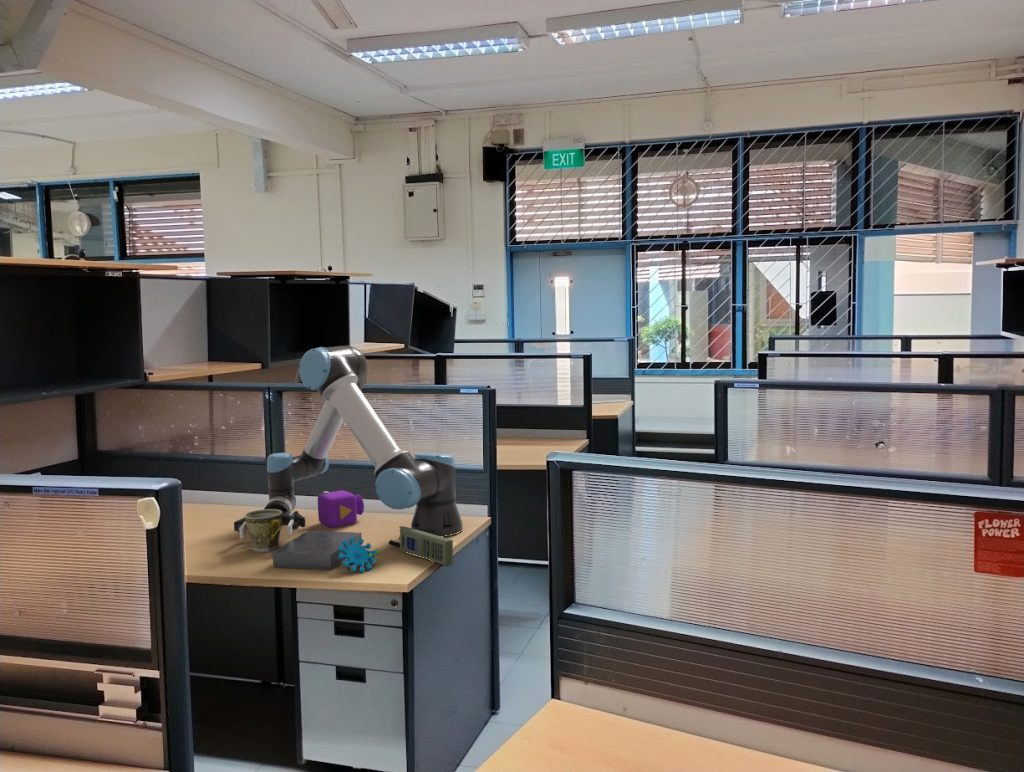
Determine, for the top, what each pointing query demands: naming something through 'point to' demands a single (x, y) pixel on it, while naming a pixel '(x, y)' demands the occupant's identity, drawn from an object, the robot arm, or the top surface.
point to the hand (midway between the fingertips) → (265, 532)
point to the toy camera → (339, 508)
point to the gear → (357, 554)
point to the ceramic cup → (264, 529)
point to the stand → (313, 550)
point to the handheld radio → (425, 545)
